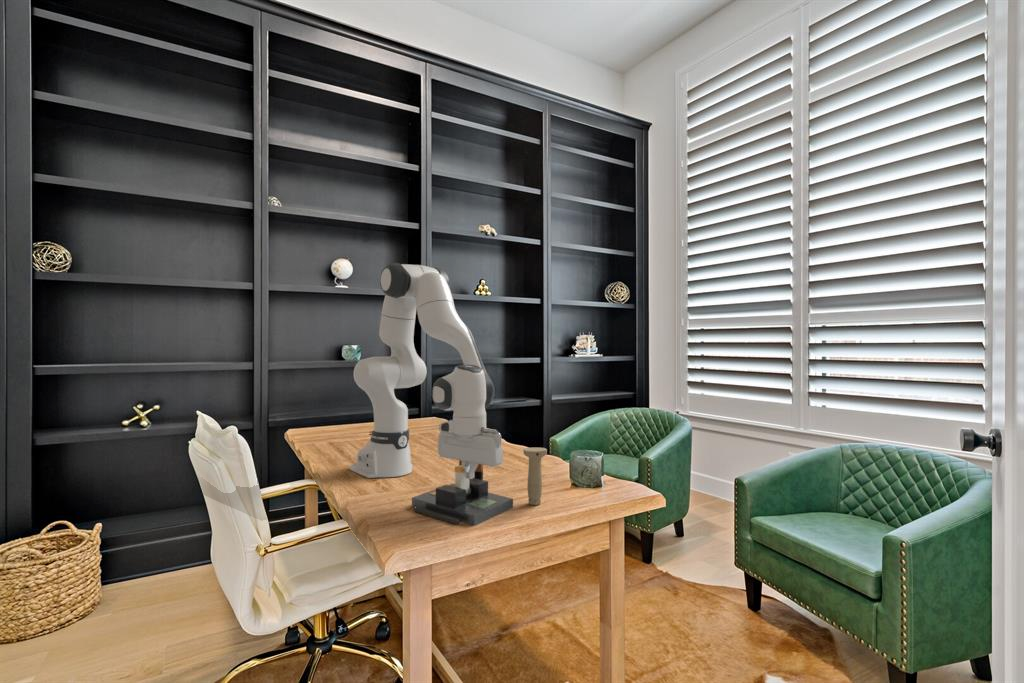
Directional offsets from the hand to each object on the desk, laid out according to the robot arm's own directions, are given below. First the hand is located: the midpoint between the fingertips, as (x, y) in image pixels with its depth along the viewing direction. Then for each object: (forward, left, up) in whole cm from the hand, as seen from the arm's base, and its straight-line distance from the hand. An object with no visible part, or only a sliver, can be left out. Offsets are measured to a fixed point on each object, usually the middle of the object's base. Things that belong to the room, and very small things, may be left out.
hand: (469, 478), depth 131 cm
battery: (-11, +14, -8) cm, 20 cm away
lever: (-2, 0, -5) cm, 6 cm away
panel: (-2, 0, -8) cm, 8 cm away
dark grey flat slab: (-2, 0, -8) cm, 8 cm away
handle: (+12, +14, -8) cm, 20 cm away
